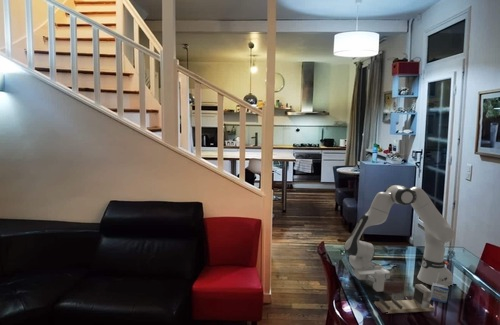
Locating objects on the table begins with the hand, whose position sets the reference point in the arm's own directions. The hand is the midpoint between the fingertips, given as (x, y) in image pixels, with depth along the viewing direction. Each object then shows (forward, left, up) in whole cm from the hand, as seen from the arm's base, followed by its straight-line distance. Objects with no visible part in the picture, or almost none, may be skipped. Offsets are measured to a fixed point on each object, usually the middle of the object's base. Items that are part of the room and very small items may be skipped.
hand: (379, 280), depth 201 cm
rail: (-8, +12, -9) cm, 17 cm away
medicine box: (-34, +6, -9) cm, 36 cm away
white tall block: (0, 0, -6) cm, 6 cm away
